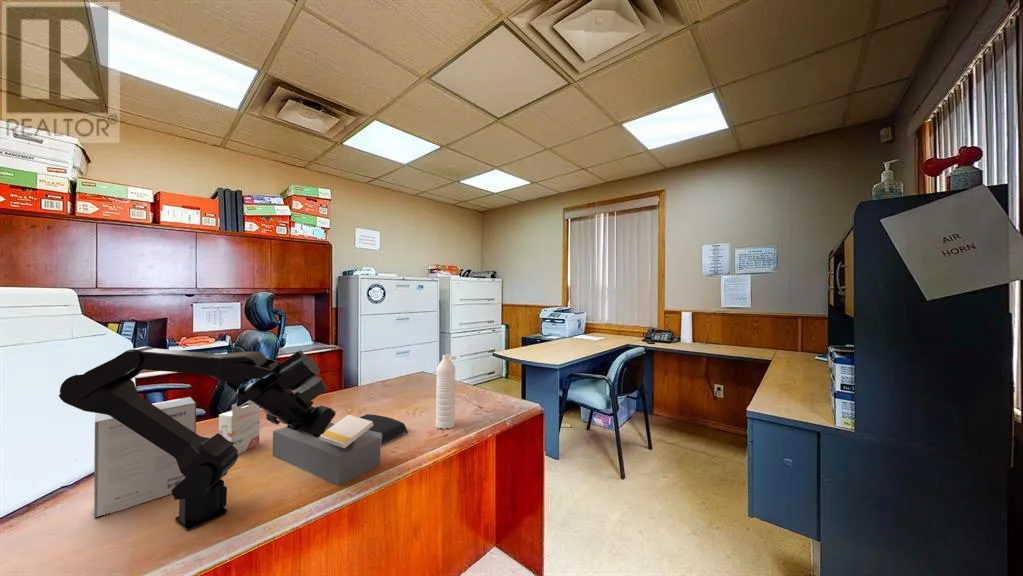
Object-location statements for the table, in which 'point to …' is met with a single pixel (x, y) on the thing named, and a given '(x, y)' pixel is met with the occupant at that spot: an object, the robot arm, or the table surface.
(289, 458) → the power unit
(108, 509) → the hard drive box
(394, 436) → the external hard drive
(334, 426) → the rocker amber
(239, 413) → the ink cartridge box
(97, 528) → the table surface
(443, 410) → the water bottle
